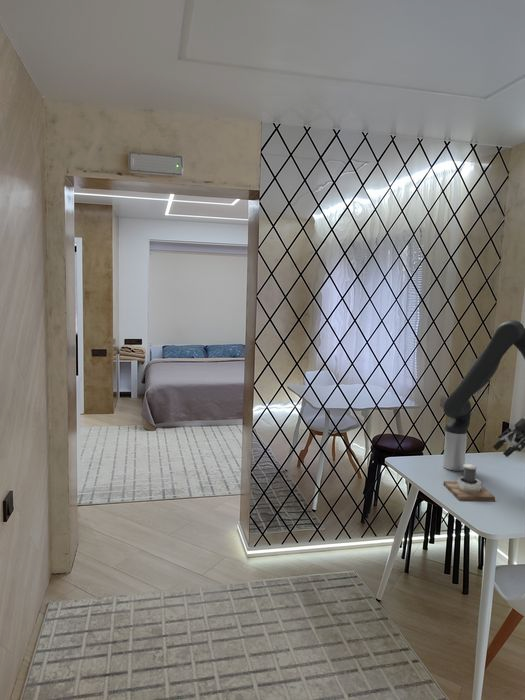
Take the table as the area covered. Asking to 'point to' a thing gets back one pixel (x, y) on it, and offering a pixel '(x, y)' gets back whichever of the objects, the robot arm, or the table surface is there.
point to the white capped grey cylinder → (469, 473)
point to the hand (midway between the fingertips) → (499, 451)
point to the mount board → (461, 495)
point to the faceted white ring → (468, 486)
